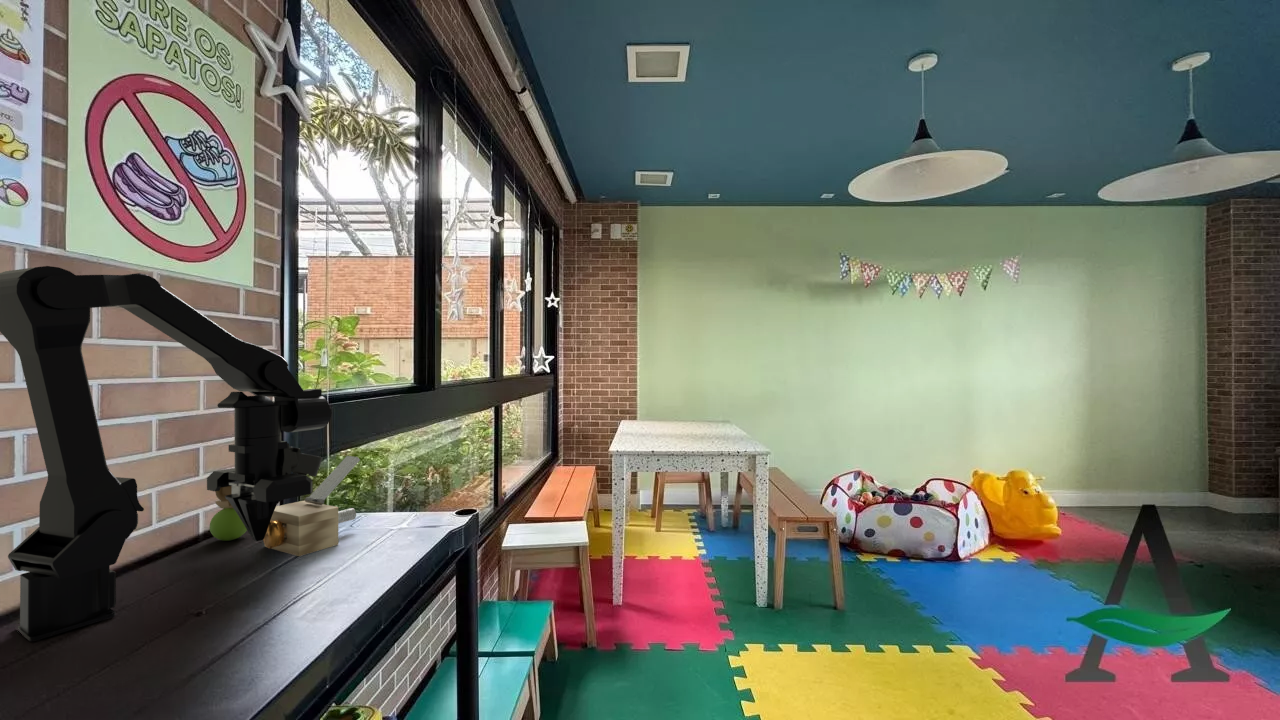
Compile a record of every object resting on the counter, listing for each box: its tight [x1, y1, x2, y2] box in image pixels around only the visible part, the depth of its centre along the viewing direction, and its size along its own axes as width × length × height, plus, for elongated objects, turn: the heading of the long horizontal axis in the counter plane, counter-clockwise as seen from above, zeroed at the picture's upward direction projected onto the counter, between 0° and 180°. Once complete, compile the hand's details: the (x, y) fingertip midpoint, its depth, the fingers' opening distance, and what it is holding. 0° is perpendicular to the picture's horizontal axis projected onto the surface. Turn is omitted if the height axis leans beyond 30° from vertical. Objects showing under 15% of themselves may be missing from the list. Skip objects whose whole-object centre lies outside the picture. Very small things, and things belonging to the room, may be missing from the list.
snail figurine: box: [209, 486, 248, 542], centre depth 87 cm, size 5×6×12 cm
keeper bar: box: [304, 455, 361, 505], centre depth 88 cm, size 9×4×1 cm
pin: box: [262, 507, 357, 549], centre depth 85 cm, size 13×4×4 cm, turn 151°
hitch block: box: [264, 500, 339, 557], centre depth 84 cm, size 6×10×6 cm, turn 61°
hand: (258, 540), depth 78 cm, fingers closed
